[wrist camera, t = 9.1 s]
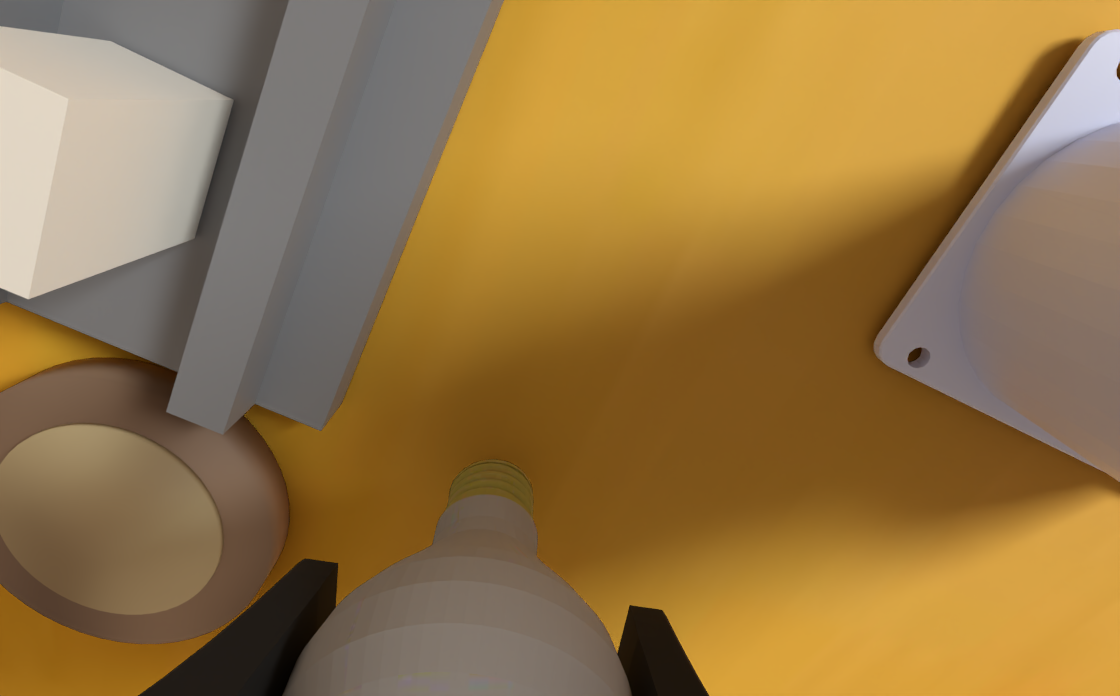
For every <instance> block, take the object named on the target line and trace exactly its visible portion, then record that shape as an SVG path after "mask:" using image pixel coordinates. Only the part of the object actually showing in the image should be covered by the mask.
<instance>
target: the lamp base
mask: <svg viewBox="0 0 1120 696" xmlns="http://www.w3.org/2000/svg"><path fill="white" fill-rule="evenodd" d="M177 374H178V372H175V371H172V370H169V369H166V368H163V367H160V366H158V365H154V364H149V363H145V362H141V361H136V360H129V359H120V358H89V359H82V360H74V361H70V362H67V363H63V364H59V365H56V366H53V367H51V368H49V369H47V370H44V371H42V372H40V373H38V374H36V375H34V376H32V377H30V378H28V379H26V380H24V381H22V382H20V383H18V384H16V385H14V386H12V387H10V388H8V389H6V390H4V391H3V392H1V393H0V584H1V585H2V586H3V587H4V588H5V589H7V590H8V591H9V592H10V593H11V594H13V595H14V596H15V597H17V598H18V599H19V600H20V601H22V602H23V603H24V604H26V605H27V606H29V607H31V608H32V609H34V610H35V611H37V612H39V613H40V614H42V615H43V616H45V617H47V618H49V619H51V620H53V621H55V622H57V623H59V624H61V625H64V626H66V627H69V628H71V629H74V630H76V631H79V632H81V633H85V634H88V635H92V636H95V637H98V638H102V639H107V640H112V641H118V642H125V643H135V644H162V643H171V642H178V641H183V640H187V639H192V638H195V637H198V636H201V635H204V634H206V633H209V632H211V631H213V630H215V629H217V628H219V627H221V626H223V625H225V624H226V623H227V622H229V621H230V620H232V619H233V618H234V617H236V616H237V615H238V614H239V613H240V612H241V611H242V610H243V609H244V608H245V607H246V606H247V605H248V604H249V603H250V602H251V600H252V599H253V598H254V596H255V595H256V594H257V592H258V591H259V589H260V587H261V586H262V584H263V583H264V581H265V580H266V578H267V576H268V575H269V573H270V572H271V570H272V569H273V567H274V565H275V564H276V562H277V560H278V558H279V556H280V554H281V552H282V550H283V548H284V544H285V541H286V538H287V535H288V527H289V520H290V516H289V499H288V494H287V488H286V484H285V481H284V478H283V475H282V472H281V469H280V467H279V465H278V463H277V461H276V459H275V457H274V455H273V453H272V452H271V450H270V448H269V447H268V445H267V444H266V442H265V441H264V439H263V438H262V436H261V435H260V434H259V433H258V432H257V430H256V429H255V428H254V427H253V426H252V424H251V423H250V422H249V421H248V420H247V419H246V418H245V417H244V416H242V417H241V418H240V419H239V420H238V421H236V422H235V423H234V424H233V425H232V426H231V427H230V428H229V429H228V430H227V431H226V432H225V433H224V434H223V435H222V434H220V433H217V432H215V431H212V430H210V429H207V428H205V427H202V426H200V425H197V424H195V423H192V422H190V421H187V420H185V419H182V418H180V417H177V416H175V415H172V414H170V413H167V412H166V411H167V407H168V404H169V401H170V397H171V394H172V390H173V387H174V384H175V380H176V377H177Z"/></svg>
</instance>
